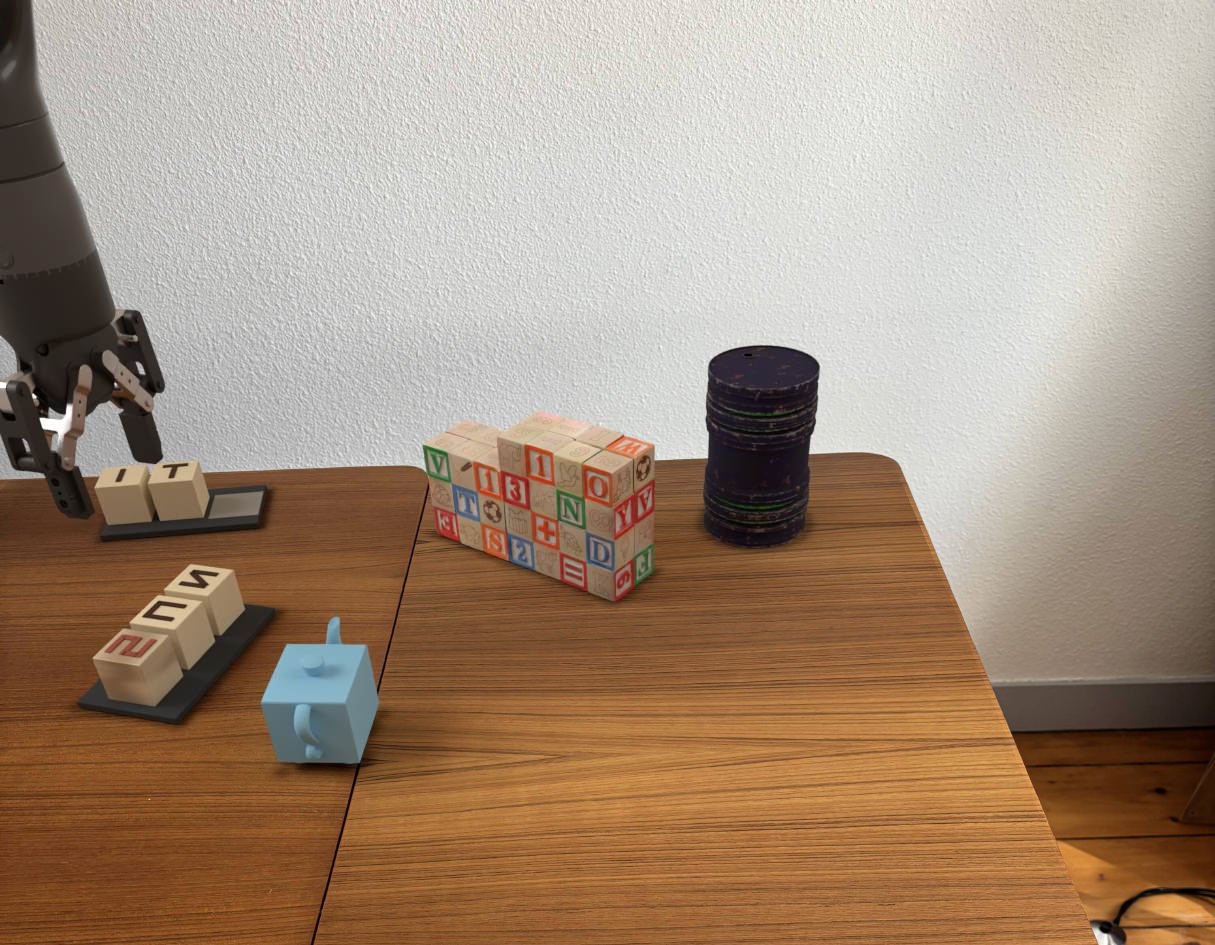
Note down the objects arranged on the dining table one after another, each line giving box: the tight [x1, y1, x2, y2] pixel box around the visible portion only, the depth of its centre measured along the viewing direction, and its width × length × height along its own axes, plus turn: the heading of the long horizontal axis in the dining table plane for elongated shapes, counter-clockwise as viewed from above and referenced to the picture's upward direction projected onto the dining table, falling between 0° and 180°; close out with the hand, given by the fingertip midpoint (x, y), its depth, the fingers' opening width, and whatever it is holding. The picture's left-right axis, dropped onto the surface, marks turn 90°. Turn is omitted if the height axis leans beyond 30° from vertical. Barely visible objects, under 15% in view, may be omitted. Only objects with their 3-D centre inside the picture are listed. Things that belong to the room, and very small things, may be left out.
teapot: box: [260, 616, 380, 765], centre depth 84 cm, size 12×6×8 cm, turn 177°
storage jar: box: [702, 344, 821, 549], centre depth 103 cm, size 10×10×15 cm
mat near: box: [76, 563, 277, 725], centre depth 93 cm, size 9×16×5 cm, turn 164°
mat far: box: [94, 460, 268, 542], centre depth 111 cm, size 15×8×5 cm, turn 96°
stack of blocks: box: [422, 410, 656, 603], centre depth 101 cm, size 21×6×12 cm, turn 54°
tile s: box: [92, 628, 183, 707], centre depth 89 cm, size 4×4×4 cm
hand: (116, 487), depth 82 cm, fingers open, 8 cm apart
